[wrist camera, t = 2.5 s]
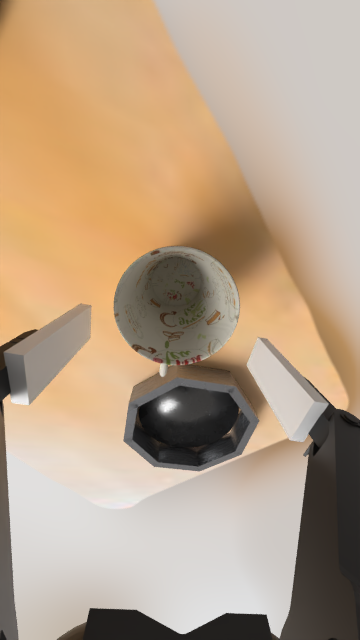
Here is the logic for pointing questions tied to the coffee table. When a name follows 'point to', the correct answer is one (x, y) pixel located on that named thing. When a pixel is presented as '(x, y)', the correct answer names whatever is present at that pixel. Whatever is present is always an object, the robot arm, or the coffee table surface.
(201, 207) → the coffee table surface
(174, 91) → the coffee table surface
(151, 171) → the coffee table surface
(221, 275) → the mug
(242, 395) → the gray octagonal container
